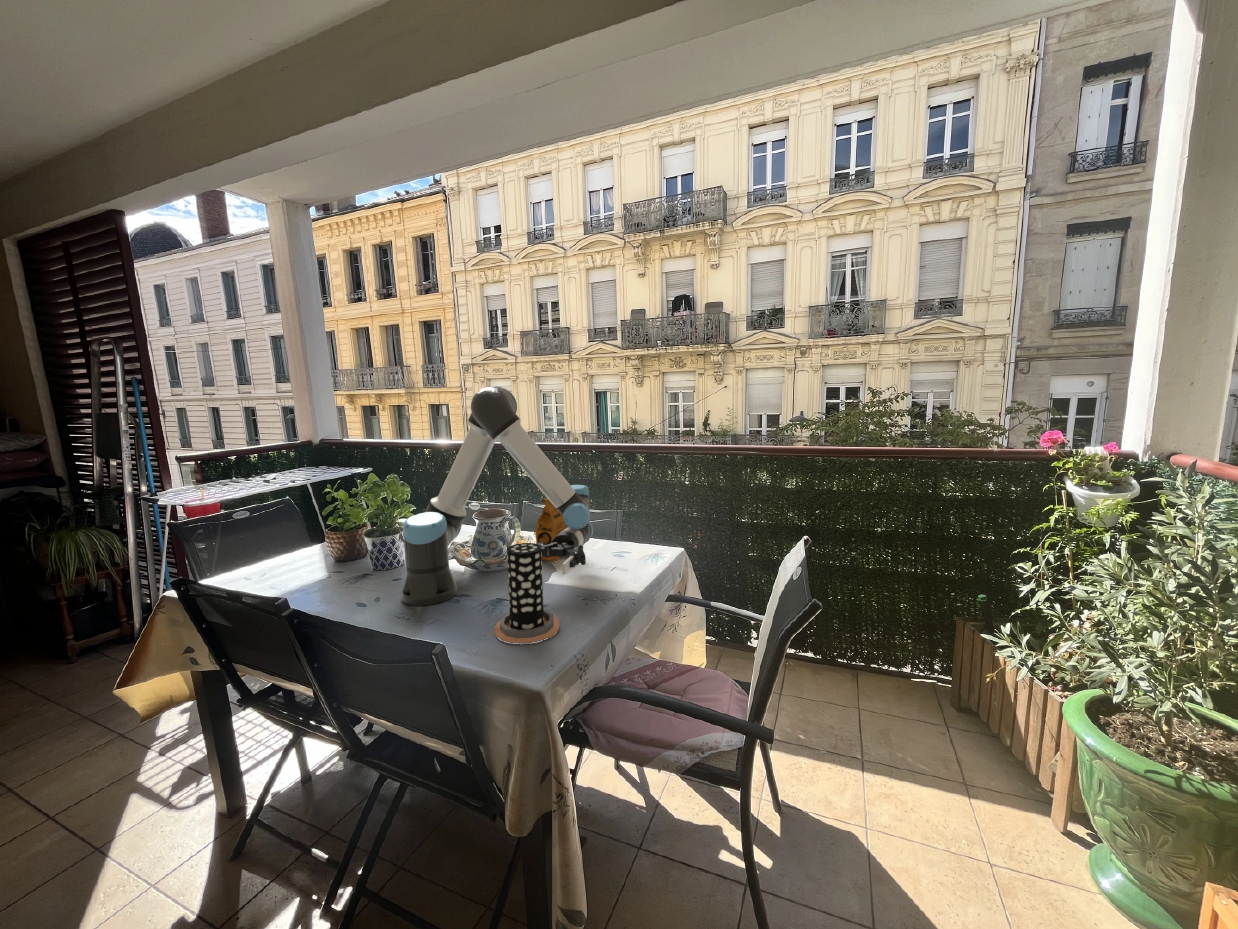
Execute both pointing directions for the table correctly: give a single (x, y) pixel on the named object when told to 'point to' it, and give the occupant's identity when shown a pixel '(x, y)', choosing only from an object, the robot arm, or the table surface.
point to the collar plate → (528, 635)
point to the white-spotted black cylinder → (525, 586)
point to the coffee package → (549, 526)
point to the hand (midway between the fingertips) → (539, 567)
